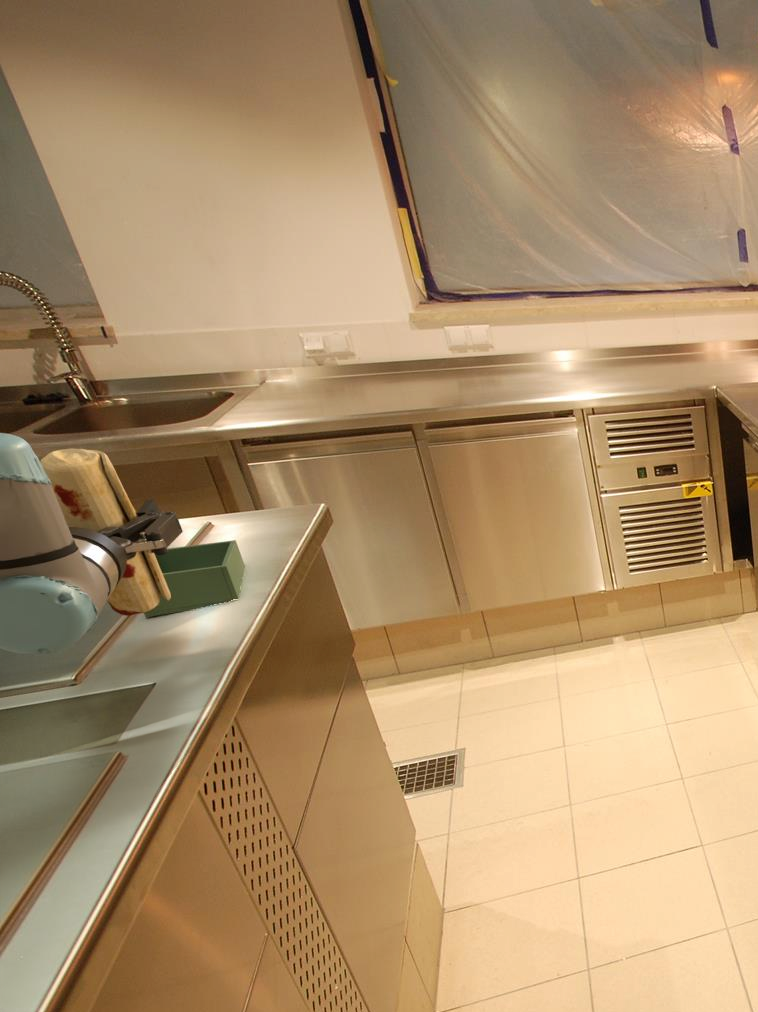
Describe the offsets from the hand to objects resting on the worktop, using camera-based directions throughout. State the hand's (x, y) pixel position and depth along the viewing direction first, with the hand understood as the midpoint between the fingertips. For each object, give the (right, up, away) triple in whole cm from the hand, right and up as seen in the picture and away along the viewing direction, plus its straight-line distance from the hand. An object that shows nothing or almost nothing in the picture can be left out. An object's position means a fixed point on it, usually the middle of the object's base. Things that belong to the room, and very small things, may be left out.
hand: (115, 513), depth 105 cm
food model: (+2, -12, +1) cm, 12 cm away
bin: (-5, -9, +17) cm, 20 cm away
